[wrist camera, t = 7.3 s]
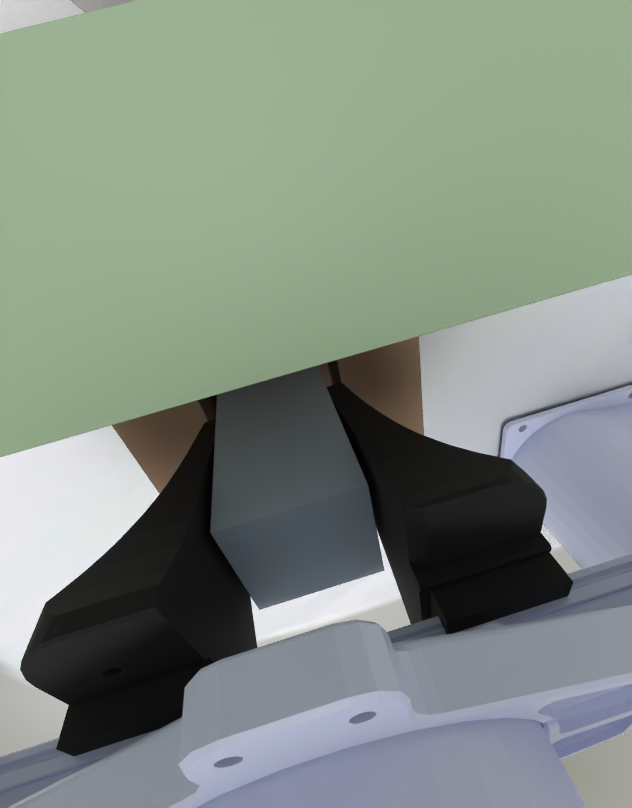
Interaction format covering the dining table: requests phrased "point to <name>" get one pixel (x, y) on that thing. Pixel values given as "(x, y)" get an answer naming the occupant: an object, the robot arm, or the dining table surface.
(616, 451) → the robot arm
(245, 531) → the peg
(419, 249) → the socket holder
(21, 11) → the dining table surface
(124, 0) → the french press
